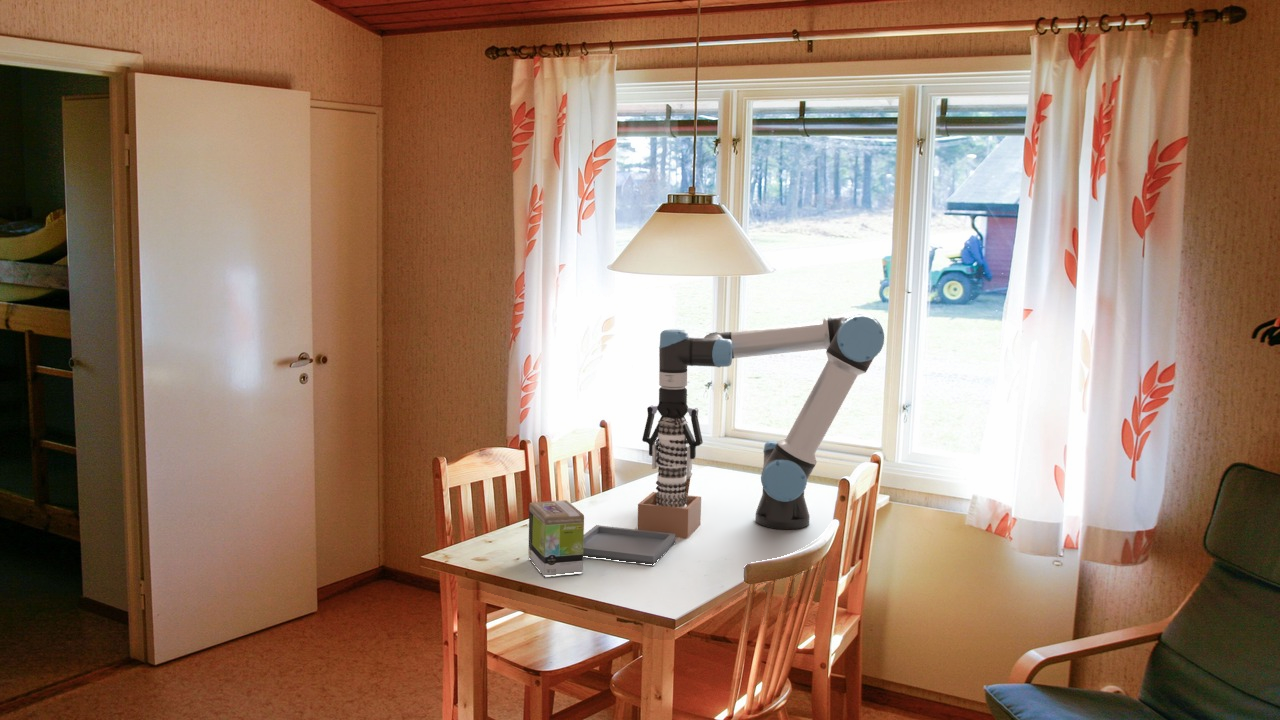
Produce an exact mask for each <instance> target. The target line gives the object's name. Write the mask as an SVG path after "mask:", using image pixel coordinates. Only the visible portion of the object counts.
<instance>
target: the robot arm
mask: <svg viewBox="0 0 1280 720" xmlns="http://www.w3.org/2000/svg"><path fill="white" fill-rule="evenodd" d="M659 336H660V337H659V347H658V348H659V350H658V352H659V355H658V356H659V359H658V360H659V365H658V366H659V371H658V373H659V374H658V375H659V376H658V377H659V381H658V384H659V386H660V387H659V389H658V404H657V405H655V406H654V405H650V406H648V407H647V408H646V409H647V418H646V421H645V426H644V430H643V434H642V439H641V440H642V442H644V443H647V444H648V456H650V457H651V461H652V463H651V465H652V466H651V467H652V470H654V469H657V468H659V467H658V465H657V462H656V460H657V458H658V457H656V454H657V453H658V451H657V450H656V446H657V444H656V440H657V439H658V433H659V423H658V422H657V424H656V427H655V429H654V431H653V432H651V431H652V428H653V425H654V420H655V416H656V414H657V411H658V413H659V414H660V416H661V417H660V419H658V421H659V422H660V421H661V420H662V419H663V418H664V417H669V418H679V419H680V420H681V422H682V423H684V422H683V420H682V418H684V419H685V421H687V420H686V417H685V416H686V414H687V413H688V416H689V417H690V419H691V420H690V421H691V427H692V431H693V433H692V432H691V429H690V427H689V424H688V423H687V424H686V425H684V432H683V433H684V435H685V437H686V440H687V441H688V446H686V447H687V457H686V460H687V466H686V467H687V471H688V472H689V471H691V472H692V470H693V460H695V459H696V457H697V455H696V453H697V452H696V451H697V449H696V448H697V447H699V446H701V445H702V444H703V443H704V441H703V437H702V432H701V426H700V423H699V409H698V408H693V407H692V408H691V407H689V405H688V402H687V401H688V389H687V385H688V366H689V367H693V366H694V367H696V366H697V367H714V368H715V367H716V368H721V367H725V368H726V367H730V366H731V365H732V363H733V359H741V358H750V357H751V358H752V357H760V356H769V355H770V356H771V355H779V354H788V353H798V352H804V351H805V352H807V351H815V350H816V351H817V350H826V352H825V353H826V357H827V362H826V363H825V365H824V368H823V369H822V371H821V373H820V375H819V377H818V378H817V380H816V382H815V384H814V386H813V387H812V389H811V391H810V393H809V395H808V397H807V399H806V400H805V403H804V404H803V406H802V408H801V410H800V412H799V413H798V416H796V417H797V418H796V419H795V421H794V422H793V425H792V427H791V429H790V431H789V432H788V434H787V436H786V438H784V439H782V440H777V441H774V440H771V441H767V442H765V444H764V449H763V465H762V471H761V475H760V481H761V485H762V495H761V497H760V500H759V502H758V505H757V509H756V511H755V519H754V520H755V522H756V523H757V524H758V525H760V526H762V527H766V528H770V529H779V530H796V529H803V528H806V527H808V526H809V524H810V514H809V509H808V506H807V503H806V498H805V490H806V489H807V488H806V487H807V485H808V484H807V482H808V479H809V478H810V476H811V475H812V472H813V470H814V468H815V467H816V465H817V463H818V462H817V459H816V453H817V451H818V449H819V447H820V445H821V444H822V441H823V440H824V437H826V434H827V432H828V431H829V428H830V427H831V425H832V423H833V421H834V419H835V418H836V416H837V414H838V413H839V410H840V409H841V407H842V405H843V403H844V402H845V399H846V397H847V396H848V394H849V392H850V390H851V388H852V386H853V385H854V383H855V381H856V379H857V377H858V376H859V375H863V374H866V373H867V372H868V369H869V368H870V366H871V364H872V362H873V360H874V358H876V357H877V356H878V354H880V353H881V351H882V349H883V347H884V344H885V343H884V342H885V333H884V329H883V326H882V325H881V323H880V322H879V321H878V320H877V318H875V317H874V316H873V315H872V314H869V313H867V312H865V311H859V310H858V311H851V312H847V313H844V314H843V313H842V314H839V315H833V316H826V317H824V319H822V321H814V322H805V323H797V324H787V325H779V326H769V327H768V326H767V327H761V328H750V329H743V330H735V331H734V330H733V331H726V332H717V331H716V332H715V331H714V332H710V333H708V334H706V335H705V336H704V337H697V338H696V337H689V334H688V331H687V330H685V329H664V330H662V331H661V332H660V334H659ZM651 433H652V434H651ZM693 434H694V435H693Z"/></svg>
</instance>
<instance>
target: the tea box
mask: <svg viewBox="0 0 1280 720" xmlns="http://www.w3.org/2000/svg"><path fill="white" fill-rule="evenodd" d="M528 506H529V507H528V508H529V509H528V518H529V519H528V559H529V558H530V559H531V561H532V562H533V563H534V564H535V566H536V567H537V568H538V569H539V570H540V572H541V573H542V574H543V575H556V574H565V573H574V572H583V570H584V558H583V541H584V534H585V515H584V514H583V513H582V511H580V510H578V508H576V507H575V506H574V505H573V504H572V503H570V502H569V501H568V500H563V499H562V500H552V501H550V500H549V501H536V502H535V501H534V502H529V505H528ZM531 561H530V562H531ZM532 562H531V563H532ZM535 566H534V567H535ZM536 567H535V568H536ZM537 568H536V569H537ZM540 572H539V573H540ZM541 573H540V574H541ZM542 574H541V575H542Z"/></svg>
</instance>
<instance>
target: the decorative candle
mask: <svg viewBox="0 0 1280 720" xmlns="http://www.w3.org/2000/svg"><path fill="white" fill-rule="evenodd" d="M685 419H686V418H685ZM685 419H684V418H682V420H683V422H684V423H682V422H681V420H680V419H679V418H669V417H664V418H663V419H662V420H661V421H660V422H659V420H658V421H657V424H658V423H659V433H658V437H657V439H656V442H655V443H656V444H657V446H656V450H657V451H658V453H657V454H656V457H658V458H657V460H656V462H657V465H658V467H657V468H658V469H657V471H658V474H657V480H656V482H655V484H656V485H657V486H656V488H655V489H656V492H657V493H656V497H657V499H656V502H657V504H656V505H661V506H671V507H681V508H686V507H687V505H686V503H687V499H686V498H687V493H686V492H685V491H687V487H686V485H687V484H688V483H687V482H686V467H687V447H688V446H687V445H689V443H688V441H687V439H686V437H685V435H684V433H683V432H684V425H686V424H687V425H688V424H689V423H688V421H687V420H686V421H685Z"/></svg>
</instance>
